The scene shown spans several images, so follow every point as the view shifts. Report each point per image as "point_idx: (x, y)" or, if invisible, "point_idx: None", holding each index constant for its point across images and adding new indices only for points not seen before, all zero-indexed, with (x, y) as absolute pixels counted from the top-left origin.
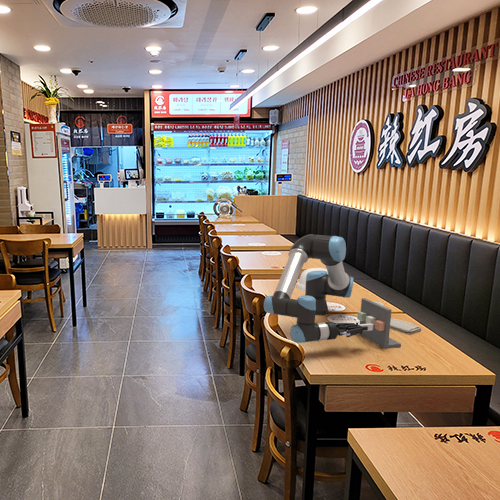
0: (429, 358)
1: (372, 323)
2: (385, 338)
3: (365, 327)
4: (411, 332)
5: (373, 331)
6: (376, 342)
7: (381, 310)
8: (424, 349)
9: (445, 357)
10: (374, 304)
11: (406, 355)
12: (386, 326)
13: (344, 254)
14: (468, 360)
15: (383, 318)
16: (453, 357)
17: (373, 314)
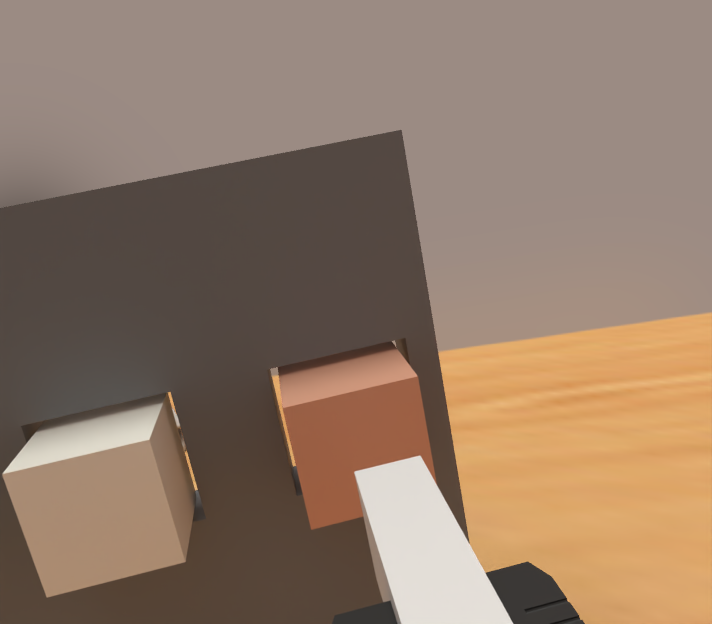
0: (659, 424)
1: (178, 503)
2: (466, 537)
3: (577, 613)
4: (180, 429)
5: (200, 603)
6: None
7: (259, 212)
8: (471, 424)
9: (603, 375)
10: (45, 204)
11: (649, 522)
12: (441, 380)
13: None
14: (618, 329)
15: (349, 306)
16: (590, 356)
17: (92, 377)
